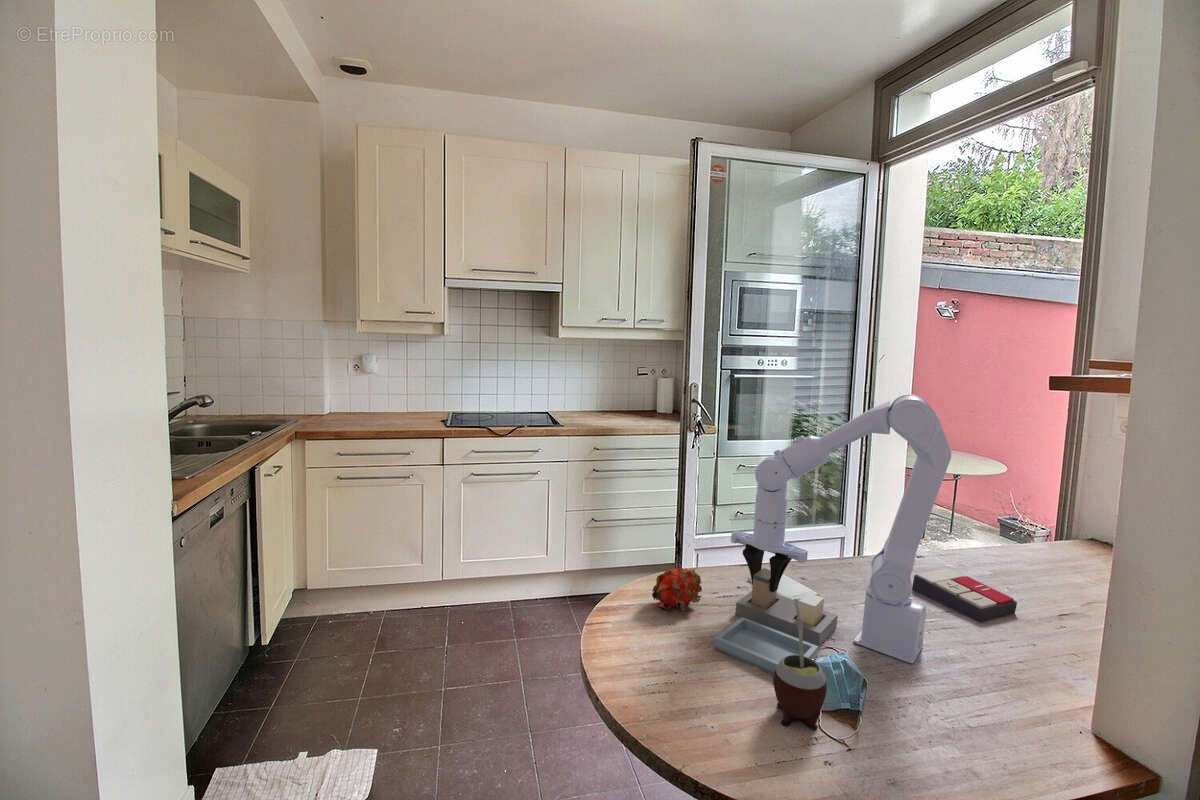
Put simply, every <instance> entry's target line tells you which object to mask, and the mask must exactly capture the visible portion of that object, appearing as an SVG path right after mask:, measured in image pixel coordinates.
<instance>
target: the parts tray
mask: <svg viewBox="0 0 1200 800" xmlns="http://www.w3.org/2000/svg"><path fill="white" fill-rule="evenodd" d="M713 643H714V644H713V649H714V650H716V651H719V652H720V653H722V654H725V655H727V656H729V657H732V658H734V659H737V660H739V661H740V662H743V663H746V664H747V665H750V666H752V667H755V668H757V669H759V670H760V671H761V670H762V671H763V672H766V673H768V674H770V675H773V676H774V673H775V670H776V667H777V665H778V663H779V662H780V660H781V659H783V658H784V657H786V656H788V655H799V639H798V638H795V637H793V636H790V635H788V634H785V633H782V632H780V631H777V630H775V629H772V628H770V627H767V626H764V625H762V624H759V623H757V622H754V621H751V620H749V619H746V618H744V617H740V618H738V619H737V620H735V621H734V622H733V623H732V624H731V625H729V626H728V627H726V628H725V629H724V630H723V631H722V632H720V633H719V634H717V636H715V637H714V642H713ZM818 653H819V647H818V646H816V645H814V644H811V643H808V642H806V641H803V656H805V657H808V658H810V659H814V658H816V659H818Z"/></svg>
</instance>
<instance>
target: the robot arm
mask: <svg viewBox="0 0 1200 800" xmlns="http://www.w3.org/2000/svg"><path fill="white" fill-rule="evenodd" d="M891 429H892V430H893V431H894V432H895V433H896V434H898V435H899V436H900V437H901V438H902V439H904V440H905V441H907V443H908V444H909V446H910V447H911V448H912V450H913V452H914V453H915V455H916V458H915V462H914V464H913V467H912V470H911V473H910V476H909V478H908V481H907V484H906V487H905V488H904V491H903V492H904V493H903V495H902V498H901V501H900V503H899V507H898V509H897V512H896V515H895V518H894V520H893V523H892V526H891V529H890V532H889V534H888V536H887V538H886V540H885V541H884V545H883V546H882V547H883V548H882V549H881V550H880V551H879V552H877V554H875V555H874V556H873V558H872V560H871V577H870V579H869V584H868V585H867V586H866V588H865V597H864V598H865V599H864V608H863V609H864V610H863V618H862V625H861V626H862V627H861V630H860V632H859V633H858V634H857V635H856V637H855V638H854V639H853V642H854V644H857V645H860V646H862V647H865V648H868V649H871V650H873V651H876V652H879V653H881V654H884V655H886V656H887V655H888V656H890V657H892V658H895V659H897V660H899V661H904V662H906V663H908V664H914V662H915V661H916V659H917V657H918V655H919V653H920V651H921V650H922V648H923V647H924V635H925V634H924V633H925V625H926V624H925V623H926V616H927V609H926V608H927V607H926V606H925V605H923V604H920V603H918V602H916V601H915V600H914V599H913V595H912V591H913V590H912V586H913V584H912V581H911V576H912V572H913V570H914V566H915V565H914V564H915V559H916V554H917V551H918V548H919V545H920V542H921V540H922V537H923V535H924V532H925V530H926V527H927V523H928V521H929V518H930V516H931V513H932V512H933V511H932V510H933V508H934V506H935V505H934V504H935V502H936V500H937V497H938V495H939V491H940V488H941V486H942V483H943V481H944V478H945V476H946V473H947V470H948V467H949V465H950V463H951V462H950V461H951V459H952V453H953V452H952V451H951V446H950V444H949V442H948V440H947V437H946V434H945V431H944V429H943V426H942V423H941V420H940V418H939V417H938V415H937V413H936V411H935V410H934V409H933V408H932V407H931V405H930V404H929V403H928V402H927V401H926V399H924V398H923V397H921V396H919V395H916V394H904V395H900V396H898V397H897V398H895V399H894V400H893V402H892V401H891V400H889V401H887V402H884V403H882V404H881V403H880V404H879V405H877V406H874V407H872V408H869V409H868V410H866V411H864V412H862V413H861V414H859V415H857V416H856V417H854V418H852V419H850V420H849V421H847V422H846V423H843V424H842V425H840V426H838V427H837V428H835V429H833V430H831V431H830V432H828V433H826V434H824V435H823V436H821V437H820V436H815V435H811V434H808V435H807V436H804V435H801V436H799V437H796V438H795V441H796V442H795V443H792V444H790V445H789V446H787V447H786V448H783V449H782V450H780V449H779V448H778V449H776V450H775V451H773V454H774V455H770V456H767V457H766V458H764V459H763V460H762V461H761V462H760V463H759V464H758V465H757V467H756V469H755V471H754V472H755V473H754V476H755V480H756V483H757V485H756V489H757V490H756V494H755V503H754V504H755V506H754V517H753V519H754V520H753V532H752V533H751V532H750V533H749V532H744V531H739V530H735V531H733V532H731V537H730V543H732V544H740V545H744V546H745V547H744V549H743V550H742V556H743V558H744V559H745V561H746V564H747V567H748V571H749V573H750V576H751V579H752V583H751V585H752V586H753V575H754V574H756V573H757V572H758V571H760V570H761V569H763V567H762V565H763V560H764V555H765V552H768V553H770V554H774V555H773V556H772V557H770V558H769V560H768V561H769V570H771V579H770V592H775V591H776V590H777V589H778V586H779V582H780V579H781V577H782V575H784V572H785V570H786V569H787V566H788V565H789V563H790V562H791V561H792V560H794V561H797V563H800V564H804V563H806V562H807V561H808V553H809V551H808V550H807V549H803V548H801V547H798V546H796V545H794V544H792V543H789V542H787V541H785V534H786V523H787V521H786V519H787V507H788V486H789V485H788V481H790V480H791V479H798V478H800V477H802V476H804V475H805V474H807V473H810V472H811V471H814V470H815V469H818V468H819V467H822V466H823V465H825V464H827V463H828V461H829V457H830V454H831V453H832V452H835V451H836V450H838V449H841V448H843V447H845V446H847V445H849V444H851V443H854V442H856V441H857V440H860V439H862V438H863V437H866V436H868V435H870V434H871V435H872V434H880V435H890V434H891Z"/></svg>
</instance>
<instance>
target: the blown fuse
mask: <svg viewBox="0 0 1200 800" xmlns="http://www.w3.org/2000/svg"><path fill="white" fill-rule="evenodd" d="M770 579H771V569H768V568H766V567H765V568H764V567H762V568H761V570H760V571H758V572H757V573H756V574H754V575H753V585H752V589H751V591H752V600H751V604H754V605H757V606H760V607H762V608H765V609H769V607H770V606H772V605H773V604H774V603H775V602H776V595H777V590H776V591H775V592H770Z"/></svg>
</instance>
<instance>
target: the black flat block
mask: <svg viewBox="0 0 1200 800" xmlns="http://www.w3.org/2000/svg"><path fill="white" fill-rule="evenodd" d="M912 591H914V592H916V593H918V594H920V595H922V596H924V597H926V598H928V599H932V600H933V601H936V602H937V603H940V604H941V605H943V606H945V607H947V608H949V609H951V610H952V611H954V612H956V613H958V614H961V615H962V616H965V617H967V618H969V619H970V620H973V621H975V622H976V623H980V624H981V623H984V622H988V621H992V620H996V619H1001V618H1005V617H1008V616H1009V617H1010V616H1013V615H1016V609H1017V604H1018V601H1016V600H1015V599H1014V598H1013V597H1011V596H1010V595H1007V594H1005V593H1003V592H1001V591H999V590H997V589H994V588H993V587H990V586H989V585H986V584H984V583H982V582H980V581H978V580H976V579H974V578H971V577H969V576H967V575H966V576H965V575H963V574H961V573H959V572H957V571H955V570H953V569H952V568H945V569H939V570H933V571H928V572H923V573H918V574H914V576H913V581H912Z"/></svg>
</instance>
